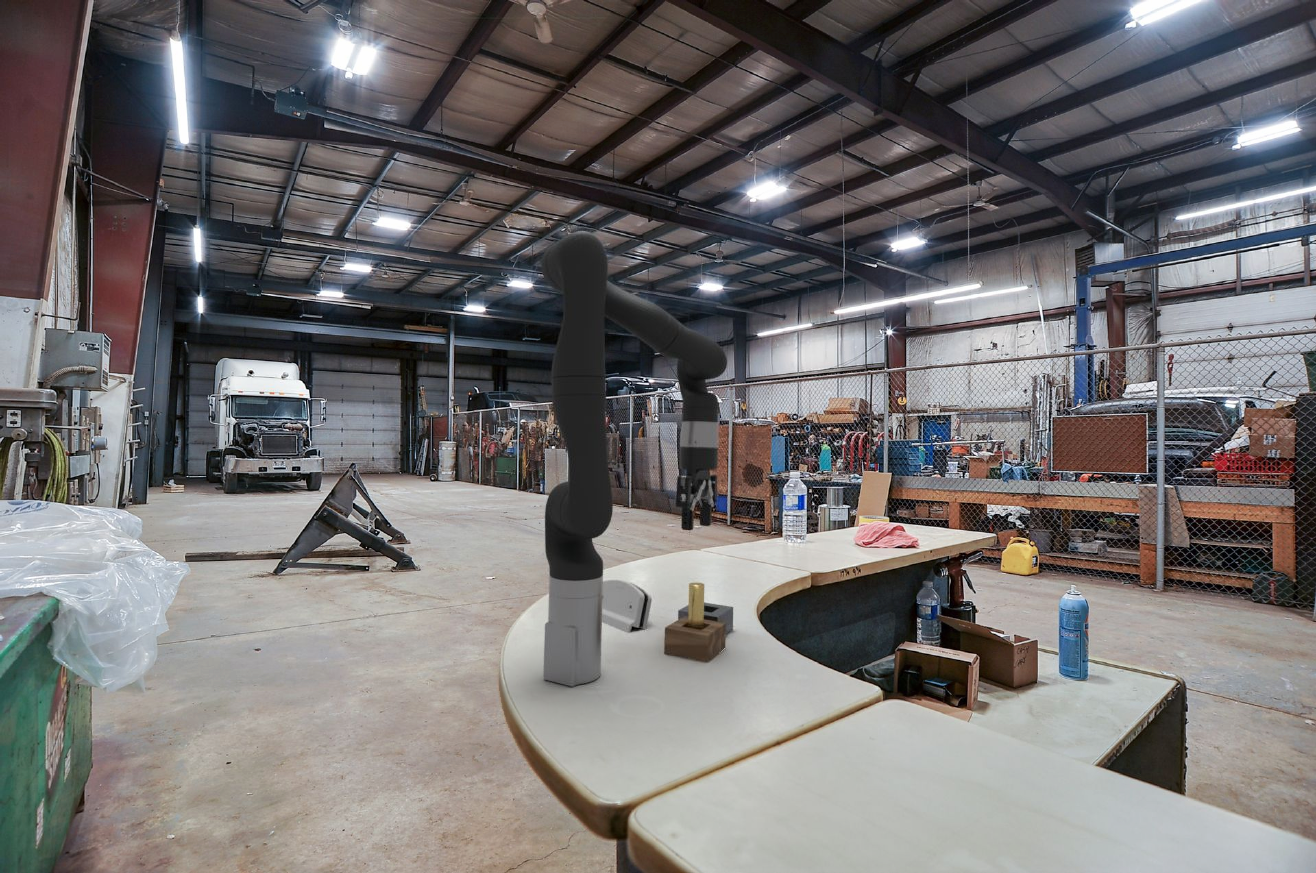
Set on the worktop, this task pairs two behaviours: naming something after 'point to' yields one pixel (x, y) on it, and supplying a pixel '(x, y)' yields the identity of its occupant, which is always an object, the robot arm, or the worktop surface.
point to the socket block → (714, 614)
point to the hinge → (625, 605)
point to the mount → (695, 640)
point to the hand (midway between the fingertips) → (696, 527)
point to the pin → (696, 606)
